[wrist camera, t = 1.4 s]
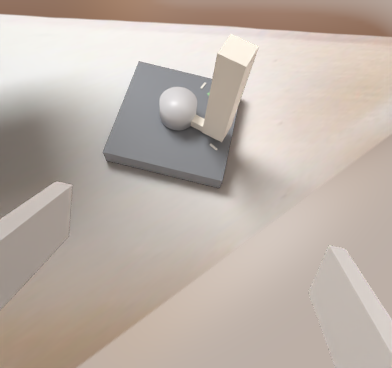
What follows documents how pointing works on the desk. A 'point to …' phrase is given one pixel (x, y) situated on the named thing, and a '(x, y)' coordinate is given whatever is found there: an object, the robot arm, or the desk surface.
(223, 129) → the lever
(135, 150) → the dial plate
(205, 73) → the desk surface
